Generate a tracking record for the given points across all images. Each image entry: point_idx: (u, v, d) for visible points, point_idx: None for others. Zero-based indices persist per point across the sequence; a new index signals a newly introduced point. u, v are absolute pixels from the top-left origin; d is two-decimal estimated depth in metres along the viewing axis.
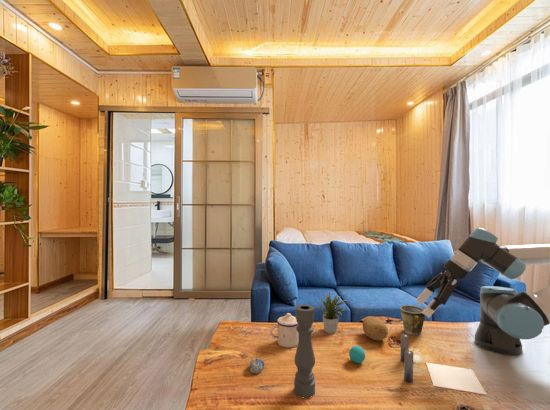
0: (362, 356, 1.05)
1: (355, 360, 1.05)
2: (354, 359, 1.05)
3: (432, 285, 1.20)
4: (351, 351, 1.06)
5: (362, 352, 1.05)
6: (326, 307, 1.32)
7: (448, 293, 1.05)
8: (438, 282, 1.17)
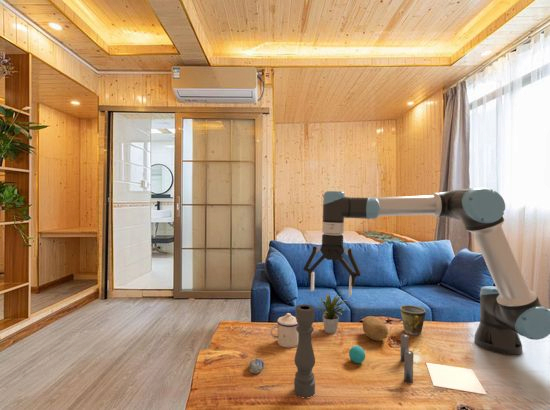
0: (362, 356, 1.05)
1: (355, 360, 1.05)
2: (354, 359, 1.05)
3: (316, 266, 1.11)
4: (351, 351, 1.06)
5: (362, 352, 1.05)
6: (326, 307, 1.32)
7: (356, 263, 1.08)
8: None
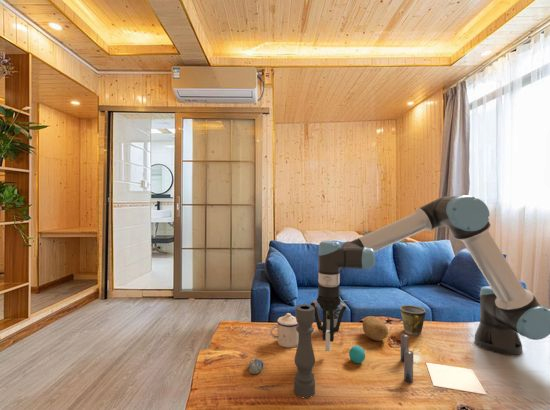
0: (362, 356, 1.05)
1: (355, 360, 1.05)
2: (354, 359, 1.05)
3: (326, 322, 1.10)
4: (351, 351, 1.06)
5: (362, 352, 1.05)
6: None
7: None
8: (326, 313, 1.10)
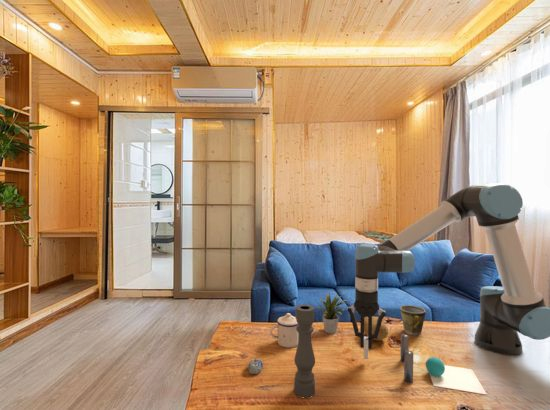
0: (432, 373, 0.98)
1: (435, 367, 0.97)
2: (437, 367, 0.97)
3: None
4: (444, 369, 0.97)
5: (434, 375, 0.98)
6: (326, 307, 1.32)
7: None
8: None
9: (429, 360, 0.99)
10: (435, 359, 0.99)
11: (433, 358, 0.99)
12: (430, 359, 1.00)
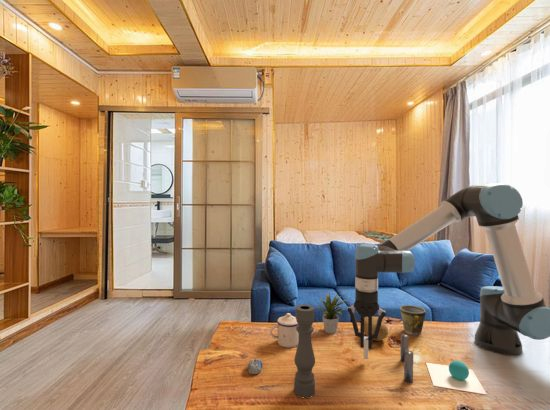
0: (459, 367, 0.96)
1: (463, 376, 0.95)
2: (462, 377, 0.95)
3: None
4: (453, 376, 0.97)
5: (455, 364, 0.97)
6: (326, 307, 1.32)
7: None
8: None
9: (468, 373, 0.96)
10: None
11: None
12: None
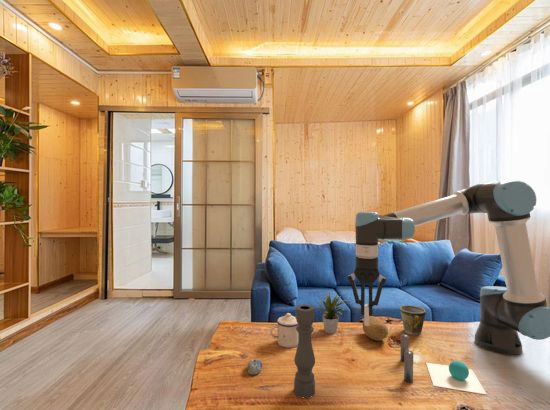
0: (459, 367, 0.96)
1: (463, 376, 0.95)
2: (462, 377, 0.95)
3: (364, 296, 1.05)
4: (453, 376, 0.97)
5: (455, 364, 0.97)
6: (326, 307, 1.32)
7: None
8: (364, 286, 1.06)
9: (468, 373, 0.96)
10: None
11: None
12: None
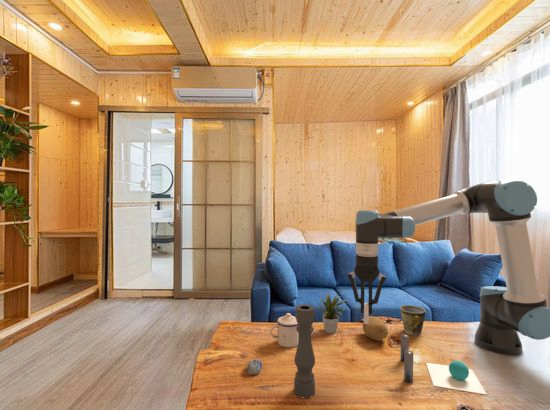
0: (459, 367, 0.96)
1: (463, 376, 0.95)
2: (462, 377, 0.95)
3: None
4: (453, 376, 0.97)
5: (455, 364, 0.97)
6: (326, 307, 1.32)
7: None
8: (364, 284, 1.06)
9: (468, 373, 0.96)
10: None
11: None
12: None
